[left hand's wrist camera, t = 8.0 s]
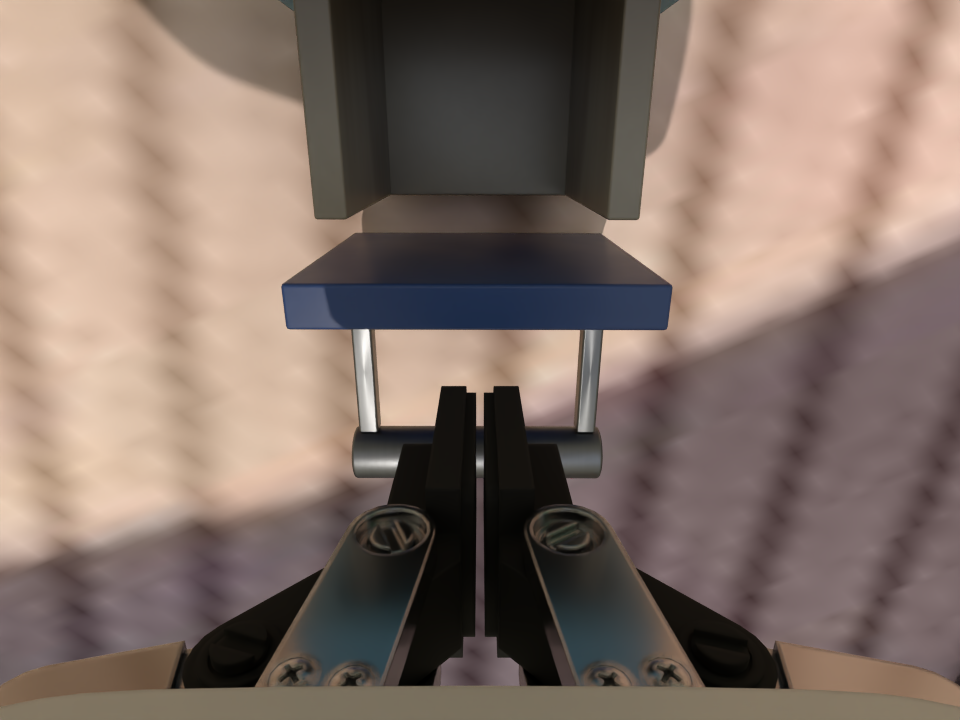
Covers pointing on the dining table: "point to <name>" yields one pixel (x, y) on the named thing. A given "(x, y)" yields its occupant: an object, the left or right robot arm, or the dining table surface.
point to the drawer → (476, 183)
